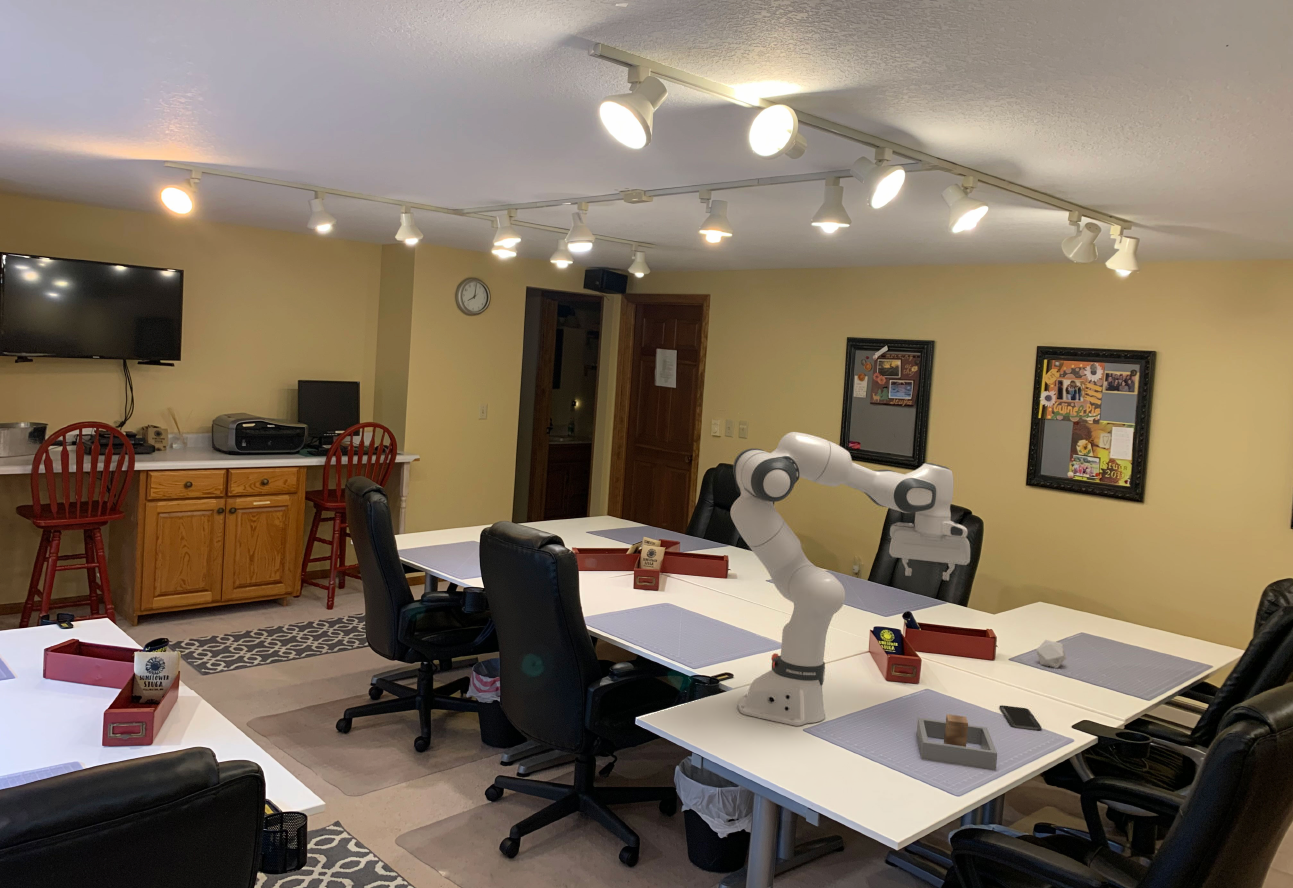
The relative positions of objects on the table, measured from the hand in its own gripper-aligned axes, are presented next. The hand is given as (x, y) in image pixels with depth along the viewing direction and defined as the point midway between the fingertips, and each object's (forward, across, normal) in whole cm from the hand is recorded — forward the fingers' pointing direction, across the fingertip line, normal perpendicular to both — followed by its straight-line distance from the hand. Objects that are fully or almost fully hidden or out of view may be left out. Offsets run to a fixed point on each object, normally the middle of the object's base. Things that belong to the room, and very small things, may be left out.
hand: (926, 577), depth 240 cm
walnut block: (+37, +8, -22) cm, 44 cm away
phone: (+37, +28, +8) cm, 48 cm away
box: (+37, +8, -22) cm, 44 cm away
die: (+37, +47, +65) cm, 88 cm away
